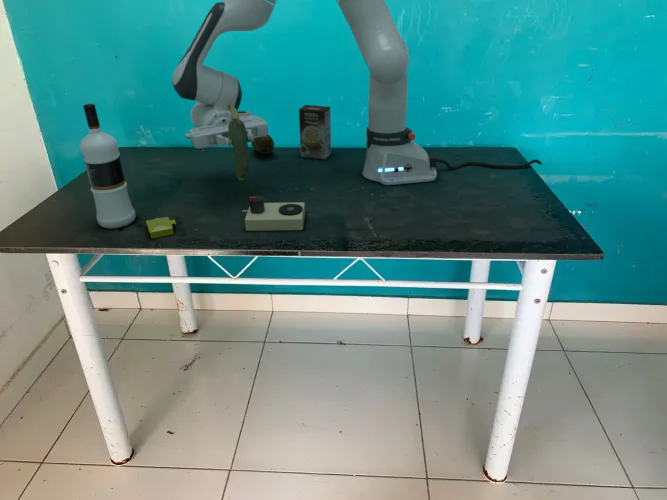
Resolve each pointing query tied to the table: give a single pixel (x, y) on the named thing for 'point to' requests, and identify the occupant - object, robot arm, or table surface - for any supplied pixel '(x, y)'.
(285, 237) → the table surface
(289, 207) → the burner
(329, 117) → the coffee box
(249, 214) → the hot plate
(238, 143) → the vegetable
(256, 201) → the hob knob
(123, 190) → the vodka
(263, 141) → the potato
